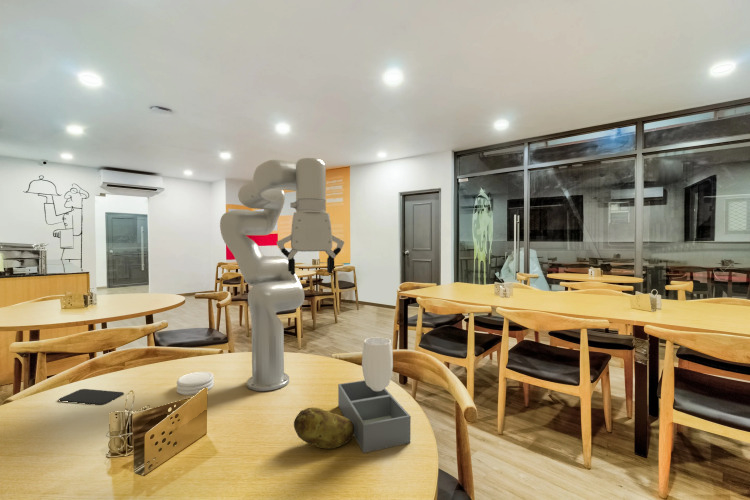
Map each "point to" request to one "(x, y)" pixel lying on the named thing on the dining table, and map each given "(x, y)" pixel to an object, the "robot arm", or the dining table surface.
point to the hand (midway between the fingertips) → (311, 273)
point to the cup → (377, 362)
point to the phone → (92, 396)
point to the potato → (323, 428)
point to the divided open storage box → (374, 416)
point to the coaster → (194, 382)
